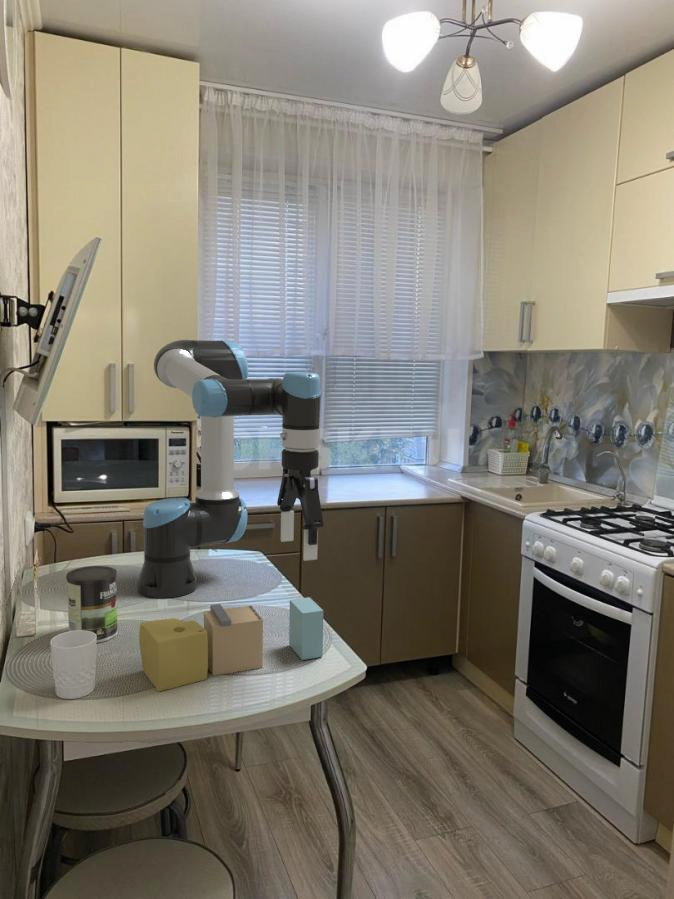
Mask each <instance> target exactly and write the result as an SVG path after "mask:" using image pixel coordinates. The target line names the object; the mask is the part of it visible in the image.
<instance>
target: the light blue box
mask: <svg viewBox="0 0 674 899" xmlns="http://www.w3.org/2000/svg"><path fill="white" fill-rule="evenodd" d="M288 618H289V626H288V628H289V629H288V630H289V633H288V635H289V637H288V645H289V646H290V647H291V649H292V650H293V651H294V652H295V654H297V656H298V657H299V658H300V660H302V661H304V660H310V659H311V660H312V659H316V658H322V657H323V651H324V650H323V648H324V647H323V646H324V645H323V643H324V641H323V640H324V639H323V638H324V609H322V607H320V606H319V605H318V603H316V602H315V601H314V600H313V599H312V598H311V597H309V596H307V597H300V598H294V599H290V600H289V617H288Z"/></svg>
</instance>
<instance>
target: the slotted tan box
mask: <svg viewBox="0 0 674 899" xmlns="http://www.w3.org/2000/svg"><path fill="white" fill-rule="evenodd" d="M203 628H204V629H205V630H206V631H207V639H208V670H209V672H211V675H212V676H213V677H214V676H219V675H226V674H232V673H238V671H239V672H243V671H251V670H256V669H262V668H263V650H264V649H263V648H264V647H263V646H264V643H263V642H264V640H263V639H264V638H263V637H264V636H263V634H264V619H263V618H262V617H261V615H260V614H259V612H257V611H256V610H255V608H254V607H253V605H247V606H239V607H230V608H224V607H223V606H222V605H221V603H218V604H211V605H210V610H209V611H208V610H207V611H203Z"/></svg>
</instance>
